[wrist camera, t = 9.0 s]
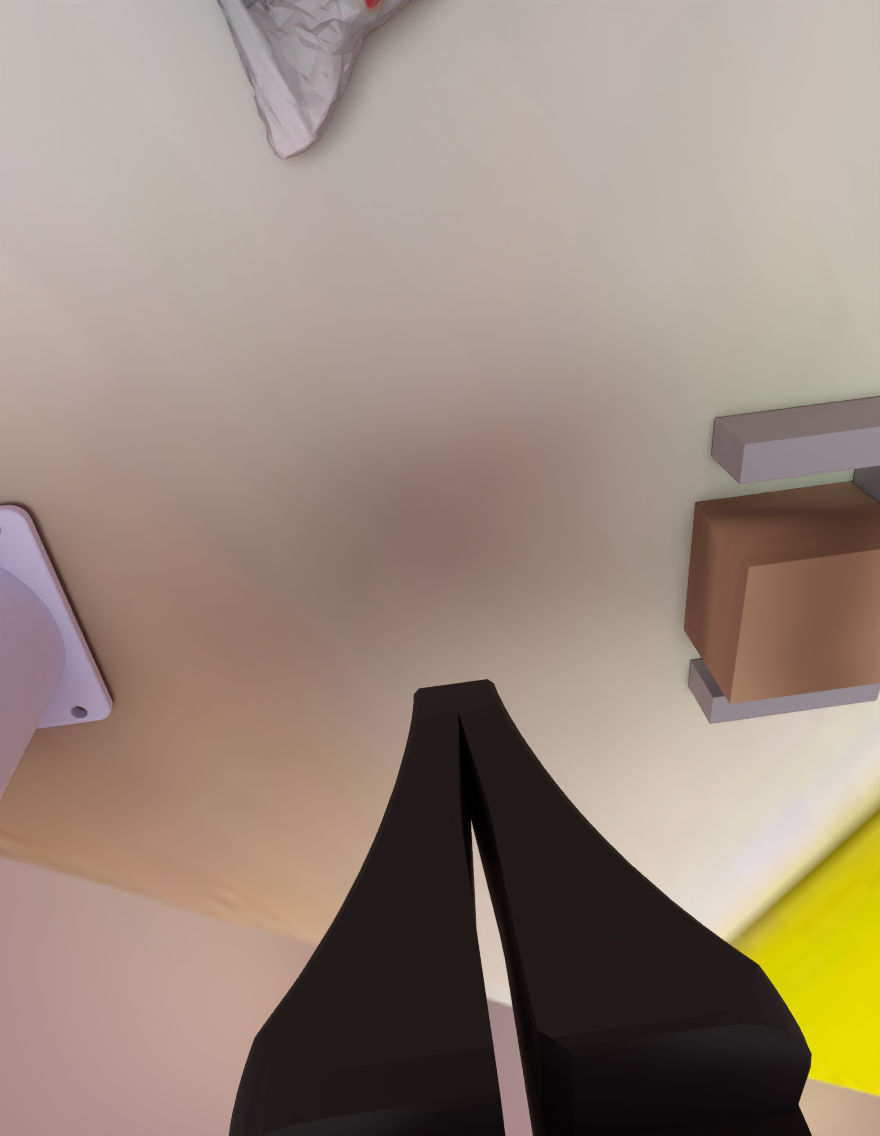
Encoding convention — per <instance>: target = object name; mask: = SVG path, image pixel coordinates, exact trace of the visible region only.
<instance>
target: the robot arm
mask: <svg viewBox="0 0 880 1136" xmlns="http://www.w3.org/2000/svg"><path fill="white" fill-rule="evenodd" d="M0 527H1V530H0V800H1V798H2V796H3V794H4V792H5V790H6V788H7V786H8V784H9V782H10V780H11V778H12V776H13V774H14V772H15V770H16V768H17V766H18V764H19V762H20V760H21V758H22V756H23V754H24V752H25V750H26V748H27V746H28V744H29V742H30V740H31V738H32V736H33V734H34V732H35V730H36V729H41V728H48V727H55V726H62V725H70V724H77V723H84V722H91V721H98V720H102V719H105V718H107V717H108V716H109V714H110V712H111V709H112V707H113V703H112V699H111V697H110V695H109V693H108V690H107V688H106V686H105V684H104V681H103V679H102V677H101V675H100V672H99V670H98V668H97V666H96V663H95V661H94V659H93V657H92V654H91V652H90V650H89V648H88V645H87V643H86V641H85V638H84V636H83V634H82V632H81V629H80V627H79V625H78V623H77V620H76V618H75V616H74V614H73V611H72V609H71V607H70V605H69V602H68V600H67V598H66V596H65V593H64V591H63V589H62V587H61V584H60V582H59V580H58V578H57V575H56V573H55V571H54V569H53V566H52V564H51V562H50V560H49V557H48V555H47V553H46V550H45V548H44V546H43V544H42V541H41V539H40V537H39V535H38V532H37V530H36V528H35V526H34V523H33V521H32V519H31V517H30V516H29V514H28V513H27V512H26V511H25V510H23V509H22V508H20V507H17V506H14V505H3V506H0ZM76 706H79V707H83V708H85V709H86V710H80V709H78V708H77V707H76ZM471 821H472V825H473V829H474V833H475V837H476V841H477V845H478V849H479V853H480V857H481V861H482V865H483V869H484V873H485V877H486V881H487V885H488V889H489V893H490V897H491V901H492V905H493V909H494V913H495V917H496V921H497V925H498V929H499V933H500V938H501V943H502V947H503V952H504V957H505V962H506V968H507V974H508V981H509V987H510V993H511V999H512V1006H513V1012H514V1018H515V1025H516V1031H517V1037H518V1044H519V1050H520V1056H521V1062H522V1068H523V1075H524V1081H525V1088H526V1094H527V1101H528V1107H529V1114H530V1120H531V1127H532V1133H533V1136H812V1135H811V1132H810V1130H809V1128H808V1126H807V1123H806V1121H805V1119H804V1116H803V1114H802V1112H801V1109H800V1107H799V1105H798V1103H799V1101H800V1098H801V1094H802V1092H803V1088H804V1085H805V1082H806V1080H807V1077H808V1074H809V1071H810V1068H811V1055H812V1053H811V1052H810V1050H809V1048H808V1045H807V1043H806V1040H805V1037H804V1035H803V1033H802V1031H801V1029H800V1027H799V1025H798V1024H797V1022H796V1020H795V1019H794V1017H793V1015H792V1014H791V1012H790V1010H789V1009H788V1007H787V1005H786V1004H785V1002H784V1001H783V999H782V997H781V996H780V994H779V993H778V991H777V990H776V988H775V987H774V985H773V984H772V982H771V981H770V980H769V978H768V977H767V975H766V974H765V972H764V971H763V970H762V968H761V967H760V966H759V965H758V964H757V963H756V962H754V961H753V960H751V959H750V958H748V957H747V956H745V955H744V954H742V953H741V952H740V951H738V950H737V949H735V948H734V947H732V946H731V945H730V944H728V943H727V942H725V941H724V940H723V939H721V938H720V937H719V936H717V935H716V934H715V933H713V932H712V931H710V930H709V929H708V928H706V927H705V926H704V925H702V924H701V923H700V922H699V921H697V920H696V919H695V918H694V917H692V916H691V915H690V914H688V913H687V912H686V911H685V910H683V909H682V908H681V907H680V906H678V905H677V904H676V903H675V902H673V901H672V900H671V899H670V898H669V897H668V896H666V895H665V894H664V893H663V892H662V891H661V890H660V889H658V888H657V887H656V886H655V885H654V884H653V883H652V882H650V881H649V880H648V879H647V878H646V877H645V876H644V875H642V874H641V873H640V872H639V871H638V870H637V869H636V868H635V867H633V866H632V865H631V864H630V863H629V862H628V861H627V860H626V859H625V858H624V857H623V856H622V855H621V854H620V853H619V852H618V851H617V850H616V849H615V848H614V847H613V846H612V845H611V844H610V843H609V842H608V841H607V840H606V839H605V838H604V837H603V836H602V835H601V834H600V833H599V832H598V831H597V830H596V829H595V828H594V827H593V826H592V825H591V824H590V823H589V821H588V820H587V819H586V818H585V817H584V816H583V815H582V814H581V813H580V811H579V810H578V809H577V808H576V807H575V806H574V804H573V803H572V802H571V801H570V800H569V798H568V797H567V796H566V795H565V794H564V792H563V791H562V790H561V789H560V787H559V786H558V785H557V784H556V782H555V781H554V780H553V779H552V777H551V776H550V775H549V773H548V772H547V771H546V769H545V768H544V767H543V765H542V764H541V763H540V761H539V760H538V758H537V757H536V755H535V754H534V753H533V751H532V750H531V748H530V747H529V746H528V744H527V743H526V741H525V740H524V738H523V737H522V735H521V734H520V732H519V730H518V729H517V727H516V725H515V724H514V722H513V721H512V719H511V717H510V715H509V714H508V712H507V710H506V708H505V707H504V705H503V703H502V701H501V699H500V697H499V694H498V692H497V690H496V688H495V685H494V683H492V682H491V681H489V680H488V679H485V680H478V681H471V682H463V683H456V684H449V685H441V686H434V687H427V688H419V689H418V690H417V691H416V693H415V694H414V704H413V713H412V720H411V726H410V731H409V735H408V740H407V744H406V748H405V752H404V756H403V759H402V763H401V766H400V770H399V773H398V777H397V780H396V783H395V786H394V789H393V792H392V795H391V797H390V800H389V803H388V806H387V808H386V811H385V814H384V817H383V819H382V822H381V825H380V827H379V829H378V832H377V834H376V837H375V839H374V841H373V844H372V846H371V848H370V851H369V853H368V855H367V857H366V859H365V861H364V863H363V866H362V868H361V870H360V872H359V874H358V876H357V878H356V880H355V882H354V884H353V886H352V887H351V889H350V891H349V893H348V895H347V897H346V899H345V901H344V903H343V905H342V907H341V908H340V910H339V912H338V914H337V916H336V917H335V919H334V921H333V923H332V924H331V926H330V928H329V929H328V931H327V932H326V934H325V936H324V937H323V939H322V940H321V942H320V944H319V945H318V947H317V948H316V950H315V952H314V953H313V955H312V956H311V958H310V960H309V961H308V963H307V964H306V966H305V968H304V969H303V971H302V973H301V974H300V975H299V977H298V978H297V980H296V981H295V983H294V984H293V986H292V987H291V988H290V990H289V991H288V993H287V994H286V996H285V997H284V998H283V999H282V1001H281V1002H280V1003H279V1005H278V1006H277V1008H276V1009H275V1010H274V1012H273V1013H272V1014H271V1016H270V1017H269V1018H268V1020H267V1021H266V1023H265V1024H264V1025H263V1027H262V1028H261V1030H260V1031H259V1032H258V1034H257V1035H256V1037H255V1038H254V1041H253V1044H252V1047H251V1049H250V1052H249V1055H248V1059H247V1062H246V1064H245V1068H244V1071H243V1074H242V1077H241V1081H240V1084H239V1088H238V1091H237V1096H236V1100H235V1105H234V1109H233V1113H232V1118H231V1124H230V1131H229V1136H505V1129H504V1121H503V1113H502V1105H501V1097H500V1090H499V1082H498V1077H497V1076H498V1075H497V1068H496V1061H495V1054H494V1047H493V1040H492V1033H491V1027H490V1019H489V1013H488V1006H487V999H486V992H485V985H484V978H483V971H482V965H481V958H480V951H479V944H478V937H477V929H476V909H475V890H474V870H473V851H472V832H471Z"/></svg>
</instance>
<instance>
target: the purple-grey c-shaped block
mask: <svg viewBox="0 0 880 1136" xmlns="http://www.w3.org/2000/svg"><path fill="white" fill-rule="evenodd" d="M711 456H712V457H713V458H714V459H715V460H716V461H717V462H718V463H719V464H720V465H721V466H722V467H723V468H724V469H725V470H726V471H727V472H728V473H729V474H730V475H731V476H732V477H733V478H734V479H735V480H736V481H737V482H738V483H739V484H745V483H753V482H760V481H768V480H775V479H783V478H790V477H797V476H805V475H812V474H820V473H827V472H835V471H842V470H850V469H856V470H855V475H854V480H853V483H854V484H855V485H856V486H858V487H859V488H860V489H861V490H863V491H864V492H865V493H866V494H868V495H869V496H870V497H872V498H873V499H874V500H875V501H877V502H878V503H879V504H880V397H872V398H865V399H857V400H850V401H842V402H834V403H827V404H819V405H811V406H804V407H796V408H789V409H781V410H773V411H766V412H758V413H751V414H743V415H735V416H728V417H720V418H715V424H714V434H713V444H712V454H711ZM688 686H689V688H690V690H691V691H692V693H693V695H694V697H695V698H696V700H697V702H698V704H699V706H700V707H701V709H702V711H703V713H704V714H705V716H706V718H707V720H708V721H709V723H710V724H713V723H720V722H727V721H734V720H741V719H748V718H755V717H762V716H769V715H776V714H783V713H790V712H797V711H804V710H811V709H818V708H825V707H832V706H839V705H846V704H853V703H860V702H868V701H875V700H877V697H878V693H879V690H880V683H877V684H870V685H863V686H856V687H848V688H841V689H834V690H827V691H820V692H813V693H806V694H799V695H792V696H784V697H777V698H770V699H763V700H756V701H749V702H742V703H735V704H729V702H728V700H727V699H726V697H725V696H724V694H723V692H722V691H721V689H720V687H719V686H718V684H717V682H716V681H715V679H714V678H713V676H712V674H711V673H710V671H709V669H708V668H707V666H706V664H705V663H704V661H703V660H702V659H698V660H691V664H690V674H689V684H688Z"/></svg>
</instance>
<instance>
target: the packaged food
mask: <svg viewBox="0 0 880 1136" xmlns="http://www.w3.org/2000/svg"><path fill="white" fill-rule="evenodd" d="M217 1H218V3H219V5H220V7H221V9H222V11H223V13H224V15H225V17H226V20H227V23H228V26H229V29H230V32H231V34H232V37H233V40H234V43H235V46H236V48H237V50H238V52H239V56H240V59H241V62H242V65H243V67H244V69H245V72H246V74H247V77H248V79H249V81H250V83H251V85H252V87H253V89H254V91H255V96H254V99H255V102H256V105H257V109H258V113H259V116H260V118H261V119H262V120H263V122H264V123H265V126H266V128H267V139H268V143H269V145H270V146H271V147H272V149H273V150H274V154H275V155H277V156H278V157H279V158H281V159H282V160H285V159H288V158H291V157H293V156H296V155H299V154H301V153H304V152H306V151H307V150H308V149H309V148H310V147H311V146H312V145H313V144H314V143H315V142H317V141H319V140H320V138H321V136H322V134H323V132H324V130H325V128H326V125H327V123H328V121H329V119H330V117H331V115H332V112H333V110H334V108H335V106H336V104H337V103H338V101H339V99H340V98H341V96H342V94H343V92H344V90H345V88H346V86H347V84H348V80H349V77H350V75H351V72H352V69H353V65H354V62H355V59H356V57H357V55H358V54H359V52H360V49H361V45H362V42H363V38H364V37H365V36H367V35H368V34H370V33H371V32H373V31H374V30H376V29H377V28H379V27H380V26H382V25H383V24H384V23H385V22H386V21H387V20H389V19H390V18H391V17H392V16H393V15H394V14H396V13H397V12H398V11H399V10H400V9H401V8H402V7H404V6H405V5H406V4H407V3H408V2H409V1H410V0H217Z"/></svg>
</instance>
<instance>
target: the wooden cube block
mask: <svg viewBox="0 0 880 1136" xmlns="http://www.w3.org/2000/svg"><path fill="white" fill-rule="evenodd" d="M684 630H685V632H686V633H687V635H688V637H689V638H690V640H691V642H692V643H693V645H694V646H695V648H696V650H697V651H698V653H699V655H700V656H701V658H702V660H703V661H704V663H705V664H706V666H707V668H708V669H709V671H710V673H711V674H712V676H713V678H714V679H715V681H716V682H717V684H718V686H719V687H720V689H721V691H722V692H723V694H724V696H725V697H726V699H727V700H728V702H729V704H735V703H742V702H749V701H756V700H763V699H770V698H777V697H784V696H792V695H799V694H806V693H813V692H820V691H827V690H834V689H841V688H848V687H856V686H863V685H870V684H877V683H880V504H879V503H878V502H877V501H875V500H874V499H873V498H872V497H870V496H869V495H868V494H866V493H865V492H864V491H863V490H861V489H860V488H859V487H858V486H856V485H855V484H854V483H852V482H851V481H849V482H841V483H834V484H826V485H819V486H812V487H804V488H797V489H790V490H782V491H775V492H767V493H760V494H753V495H745V496H738V497H731V498H723V499H716V500H709V501H701V502H695V511H694V522H693V534H692V545H691V556H690V567H689V578H688V589H687V601H686V612H685V623H684Z"/></svg>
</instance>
